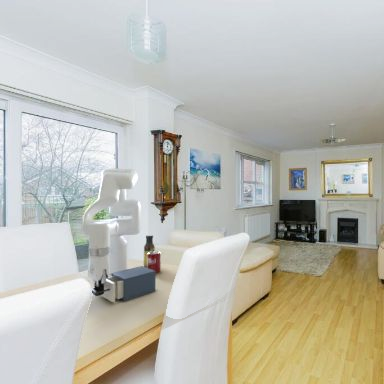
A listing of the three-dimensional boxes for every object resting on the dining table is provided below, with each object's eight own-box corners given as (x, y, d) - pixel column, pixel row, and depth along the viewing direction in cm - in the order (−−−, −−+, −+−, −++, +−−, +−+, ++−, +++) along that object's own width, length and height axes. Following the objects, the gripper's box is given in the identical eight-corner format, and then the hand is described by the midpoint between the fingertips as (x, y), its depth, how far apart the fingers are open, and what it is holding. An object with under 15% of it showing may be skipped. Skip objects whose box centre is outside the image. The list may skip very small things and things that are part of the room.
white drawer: (96, 307, 104) (97, 288, 104) (85, 299, 111) (85, 281, 111) (143, 292, 119) (143, 275, 119) (130, 286, 126) (130, 270, 126)
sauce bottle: (153, 268, 157) (154, 236, 157) (142, 269, 156) (142, 236, 156) (155, 265, 164) (155, 234, 163) (144, 266, 162) (144, 234, 162)
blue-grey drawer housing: (124, 301, 112) (124, 279, 112) (111, 293, 120) (111, 273, 120) (155, 290, 123) (155, 270, 123) (141, 284, 131) (141, 265, 131)
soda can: (152, 276, 144) (152, 254, 144) (144, 273, 148) (144, 252, 148) (163, 272, 150) (163, 252, 150) (155, 270, 154) (155, 250, 154)
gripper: (82, 250, 111) (82, 293, 111) (97, 256, 102) (96, 302, 102) (101, 247, 117) (101, 287, 117) (116, 252, 108) (116, 296, 108)
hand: (99, 294), depth 110 cm, fingers closed
